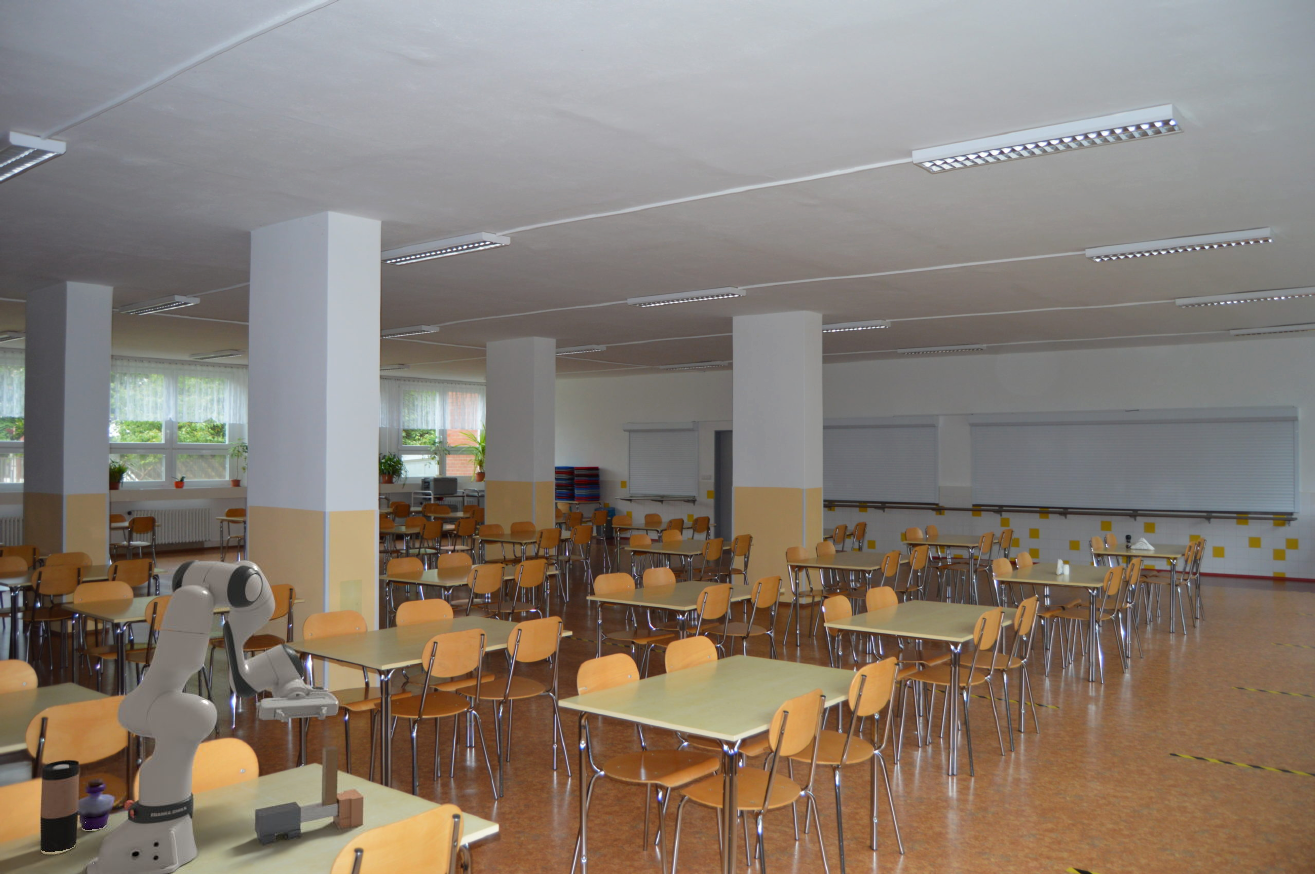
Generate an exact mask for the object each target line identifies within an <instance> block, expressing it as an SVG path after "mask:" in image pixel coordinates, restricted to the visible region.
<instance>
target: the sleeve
mask: <svg viewBox="0 0 1315 874" xmlns="http://www.w3.org/2000/svg"><path fill="white" fill-rule="evenodd" d="M300 807H301V806H300V805H299V804H298V803H297V802H296V801H293V802H292V801H291V802H287V803H282V804H276V805H272V806H267V807H262V808H257V809H254V810H255V811H254V832H255V833H256V838H257V840H258V842H259V841H260V842H259V843H260V845H261V846H262V847H263V846H268V845H272V844H276V835H279V834H283V835H284V836H285V838H286V839H287V841H291V840H294V839H299V838H301V837H302V835H301V834H302V829H301V824H302V823H301V808H300Z"/></svg>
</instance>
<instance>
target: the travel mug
mask: <svg viewBox="0 0 1315 874" xmlns="http://www.w3.org/2000/svg"><path fill="white" fill-rule="evenodd" d="M41 768H42V769H41V771H42V772H41V791H40V792H41V795H40V817H39V818H40V820H39V821H40V822H39V823H40V851H41V850H42V851H45V852H55V851H63V850H66V849H70V848H72V847H74V845H75V844H76V845H77V837H78V821H79V815H78V801H79V800H80V799H79V797H80V796H79V792H80V791H79V789H80V788H79V787H80V782H79V781H80V762H79V761H78V760H75V759H65V760H57V761H53V762H50V763H47V764H45V765H43V766H42V767H41Z"/></svg>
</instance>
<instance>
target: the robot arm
mask: <svg viewBox="0 0 1315 874" xmlns="http://www.w3.org/2000/svg"><path fill="white" fill-rule="evenodd" d="M270 585H271V584H269V582H268V579H267V577H266V576H265V574H264V573H263V571H262V570H261V568H260V567H259V566H258V565H257V564H256V563H255V562H253V561H251V560H246V559H245V560H238V561H237V560H236V561H235V562H233V563H230V562H225V561H224V562H223V561H217V560H210V561H209V560H208V561H207V560H206V561H205V560H204V561H202V560H189V561H186V562H185V561H184V562H183V563H181V565H179V567H178V568H177V569H176V570H175V571H174V574H173V576H172V580H171V590H172V595H171V597H170V599H169V601H168V604H167V606H166V609H165V611H164V615H163V618H162V621H161V624H160V627H159V628H160V629H159V633H158V638H157V642H156V646H155V648H154V649H155V650H154V654H153V657H152V660H151V663H150V666H149V667H148V669H147V671H146V673H145V675H144V677H142V680H141V681H140V683H139V684H138V685H137V686H136V687H135V688H134V689H133V690H132V691H130V692H129V693H127V694H126V695H125V696H124V698H123V699H121V701H120V703H119V705H118V709H117V715H116V716H117V721H118V723H119V725H120V726H121V727H122V728H124V730H127V731H128V732H130V733H131V734H134V735H135V736H140V737H141V736H142V737H147V738H151V739H152V738H153V739H154V740H155V746H154V749H153V753H152V755H151V756H150V757H149V758H148V759H147V760H145V761H144V762H143V763H142V764H141V766H140V767H139V771H138V795H137V797H138V798H137V800H136V801H135V802H134V801H133V800H131V799H129V800H126V802H125V803H124V805H123V806H124V809H125V811H126V812H127V819H126V820H125V821H124V822H123V823H121V824H120V825H119V826H117V827H116V828H115V829H114V830H112V831H111V832H110V833H109V834H108V835H106V836H105V838H104V839H103V840H102V842H101V845H100V848H99V851H98V856H96V857H93V858H92V859H91V860H90V861H89V862H88V864H87V866H86V871H87V873H86V874H171V873H174V872H175V871H176V870H177V869H178V868H179V867H181V866H184V865H185V864H187V863H189V862H190V861H192V860H193V859H195V858H196V857H197V855H198V853H199V852H198V847H197V846H196V840H195V836H194V829H193V817H194V810H195V807H194V805H195V798H194V794H193V792H192V788H193V787H192V785H193V781H192V780H193V769H194V768H193V767H194V760H195V757H196V753H197V750H198V748H199V746H200V744H201V743H203V742H202V741H203V740H205V739H206V738H208V737H209V735H210V734H212V733H213V730H214V728H215V727H216V724H217V719H218V710H217V707H216V706H215V705H216V704H214V703H213V702H212V701H211V700H209V699H207V698H204V697H202V696H199V695H198V694H195V693H194V694H193V693H187V692H183V690H184V687H185V686H186V683H187V682H188V681H189V679H190V678H191V676H193V675H194V674H196V673H198V672H199V671H200V670H202V668H203V667H204V664H205V663H206V658H207V657H206V656H207V652H208V647H209V642H210V639H211V634H212V633H211V632H212V629H213V621H214V612H215V611H214V609H215V608H219V607H220V608H228V609H229V614H228V616H227V617H228V618H227V619H226V620H225V622H224V623H223V625H222V633H223V634H222V635H223V641H224V642H223V643H224V647H225V653H226V659H227V666H228V681H229V686H230V688H231V690H232V691H233V693H234V694H235V695H236V696H237V697H239V698H244V699H251V698H253V697H254V696H256V695H258V694H260V693H261V692H262V691H264V690H267V689H269V688H270V689H271V694H272V697H268V698H267V697H266V698H263V699H261V700H260V701H259V702H256V703H255V708H256V709H257V710H258V718H259V719H260V720H263V721H268V720H278V721H281V722H282V723H287V722H289V719H300V718H315V717H317V719H318V720H325V719H326V717H328V716H329V717H330V716H336V715H337V714H338V711H339V704H340V703H339V700H338V699H337V698H336V696H335V695H334V694H333V693H331V692H329V688H327V687H326V686H325V687H322V686H315V685H314V686H313V685H309V684H306V683H305V681H304V680H303V677H304V673H305V670H304V665H303V664H302V660H301V659H300V656H298V653H297V652H296V650H295V649H294V648H293V647H292V646H290V645H287V644H284V643H281V644H278V645H276V646H274V647H272V648H269V649H267V650H265V651H263V652H261V653H259V654H257V655H255V656H253V657H251V658H247V659H245V656H244V645H245V643H246V642H247V641H248V640H249V638H251V637H252V636H253V635H254V634H255V633H256V632H258V631H259V630H260V629H261V628H263V627H264V626H266V624H268V622H269V621H270V620H271V618H272V617H273V615H274V613H275V609H276V601H275V597H274V594H273V590H272V589H271V588H272V587H271V586H270ZM93 863H94V864H93Z"/></svg>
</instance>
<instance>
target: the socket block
mask: <svg viewBox="0 0 1315 874" xmlns="http://www.w3.org/2000/svg"><path fill="white" fill-rule="evenodd" d="M337 800H338V801H339V815H337V816H332V817H333V818H332V821H333V823H334V824H335V825H336V826H337V828H339V829H340V830H341V829H346V828H354V827H358V826H362V825H363V826H364V796H363V795H362V794H361V793H360V792H359V791H358V790H357V789H356V788H353V789H349V790H348V789H347V790H344V791H343V792H339V793H338V792H337Z"/></svg>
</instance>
